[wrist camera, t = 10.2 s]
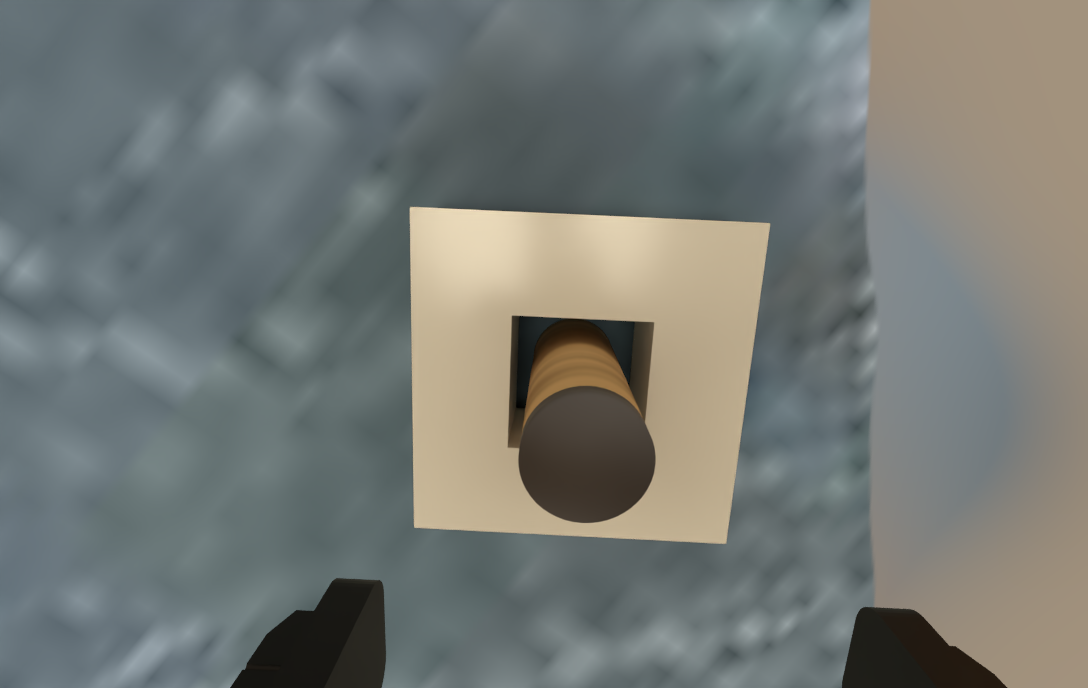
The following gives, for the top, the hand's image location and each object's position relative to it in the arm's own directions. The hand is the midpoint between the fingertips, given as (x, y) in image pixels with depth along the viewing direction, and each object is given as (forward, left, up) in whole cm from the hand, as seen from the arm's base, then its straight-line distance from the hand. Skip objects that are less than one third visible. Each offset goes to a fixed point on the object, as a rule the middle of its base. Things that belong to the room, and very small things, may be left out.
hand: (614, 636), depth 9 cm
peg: (0, 0, -19) cm, 19 cm away
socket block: (0, 0, -19) cm, 19 cm away
